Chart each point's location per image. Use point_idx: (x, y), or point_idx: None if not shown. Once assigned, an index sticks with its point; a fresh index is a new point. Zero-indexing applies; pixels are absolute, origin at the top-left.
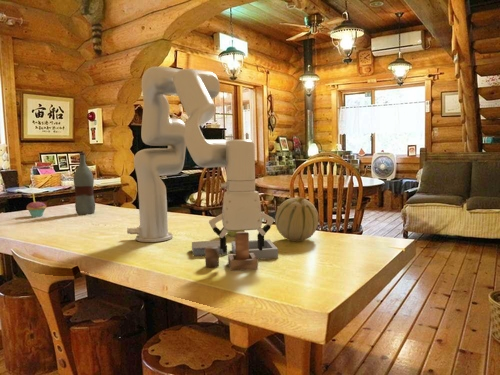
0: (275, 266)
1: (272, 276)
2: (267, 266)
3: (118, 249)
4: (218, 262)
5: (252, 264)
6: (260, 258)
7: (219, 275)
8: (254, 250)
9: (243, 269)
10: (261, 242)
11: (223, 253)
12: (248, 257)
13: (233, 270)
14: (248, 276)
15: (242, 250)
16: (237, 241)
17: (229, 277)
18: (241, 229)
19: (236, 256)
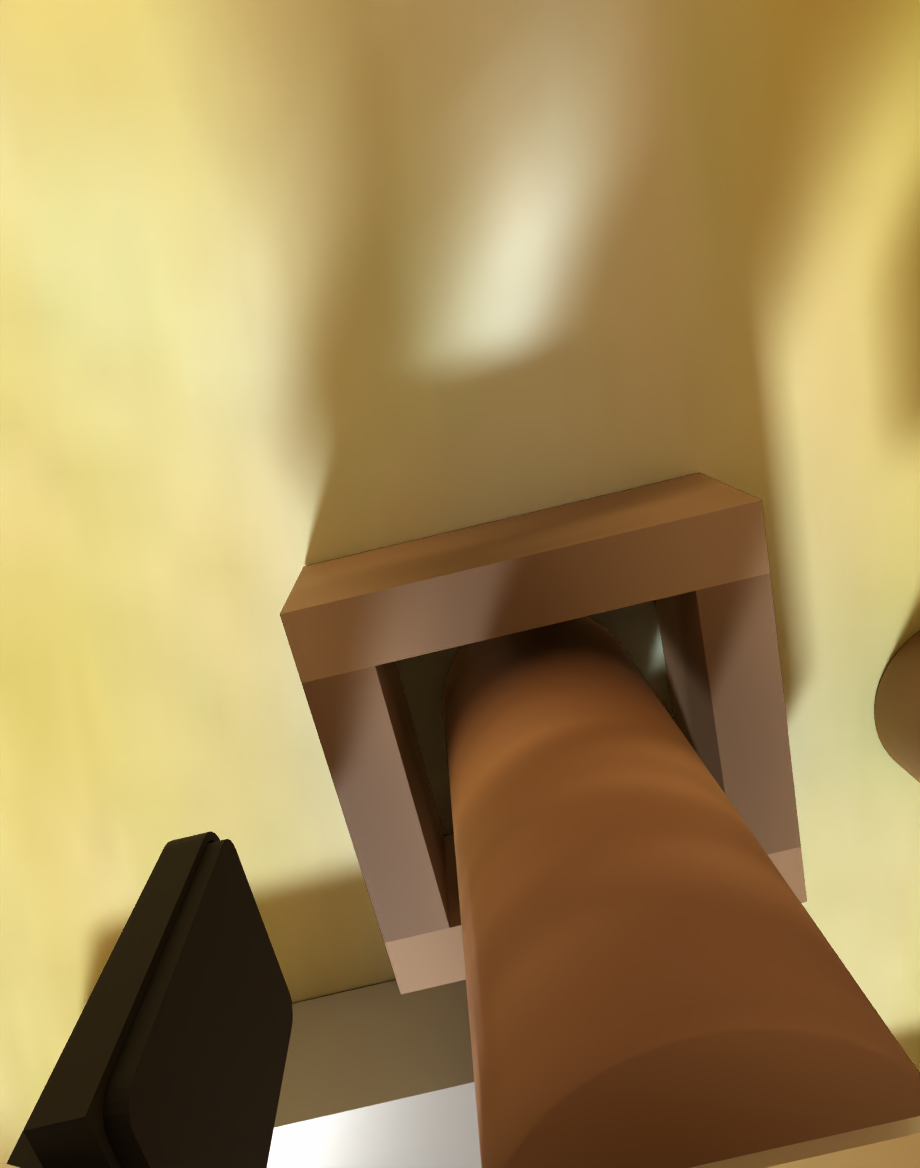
0: (52, 704)
1: (12, 191)
2: (172, 700)
3: None
4: (913, 704)
5: (376, 568)
6: (312, 1005)
7: (872, 240)
8: (389, 1096)
9: (516, 519)
10: (125, 959)
11: None
12: (456, 739)
13: (664, 482)
14: (412, 189)
15: (587, 736)
16: (776, 885)
17: (715, 131)
18: (890, 1145)
19: (673, 722)
